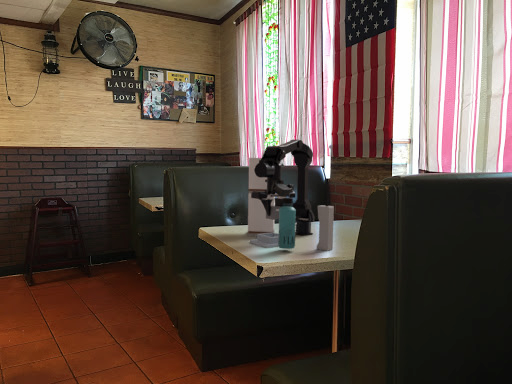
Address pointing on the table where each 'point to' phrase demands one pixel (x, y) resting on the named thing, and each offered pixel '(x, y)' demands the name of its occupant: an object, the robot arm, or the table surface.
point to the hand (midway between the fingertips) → (273, 215)
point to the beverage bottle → (287, 225)
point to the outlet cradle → (266, 240)
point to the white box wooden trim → (257, 204)
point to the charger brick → (274, 213)
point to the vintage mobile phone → (325, 226)
